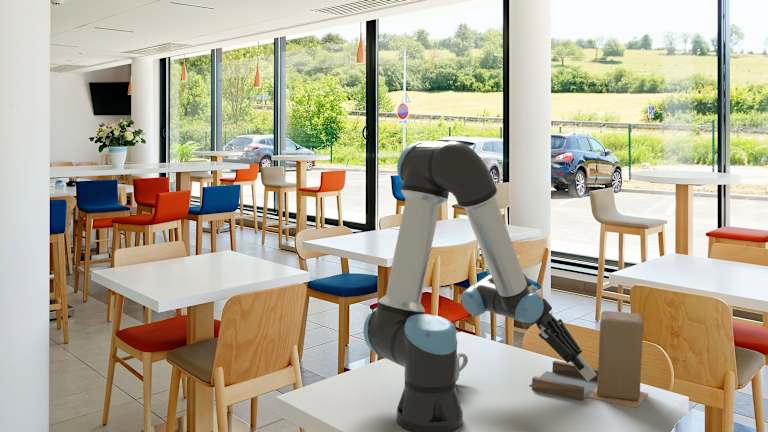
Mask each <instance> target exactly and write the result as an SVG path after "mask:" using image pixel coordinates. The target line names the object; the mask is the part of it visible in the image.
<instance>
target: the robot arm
mask: <svg viewBox="0 0 768 432" xmlns="http://www.w3.org/2000/svg"><path fill="white" fill-rule="evenodd" d="M396 172H397V175H398V176H399V178H398V179H399V181H400V182H401V183H402V184H401V189H400V192H401V193H402V196H404V200H405V201H404V206H403V210H402V215H401V221H400V225H399V229H398V235H397V239H396V240H397V241H396V244H395V249H394V254H393V258H392V259H393V260H392V263H391V269H390V273H389V276H388V277H389V279H388V281H387V282H388V284H387V288H386V292H385V295H384V296H382V297H381V298H379V299H378V301H377V306H376V308H374V309H373V310H372V311H371V313H368V315H367V316H366V317H365V320H364V324H363V339H364V341H365V343H366V345H367V346H368V348H369V349H370V350H371V351H372V352H373V353H375V354H376V355H377V356H379V357H381V358H382V359H386V360H388V361H391V363H395V364H397V365H399V366H401V367H403V368H404V388H403V389H402V390H403V391H402V393H401V395H400V399H399V401H398V404H397V408H396V422H397V424H398V425H400V426H401V427H402V428H404V429H405V430H407V431H409V432H453V431H455V430H457V429H459V428H460V427H461V426H462V425H463V423H464V421H463V420H464V417H463V416H464V415H463V409H462V405H461V403H460V398H459V395H458V392H457V388H456V386H457V382H456V359H457V354H458V351H457V350H458V338H457V329H456V326H455V324H454V323H453V322H451V321H450V320H449V319H446V318H445V317H442V316H440V315H433V314H430V313H429V314H428V313H425V312H426V310H425V308H424V306H423V305H422V302H421V299H422V295H423V291H424V290H423V289H424V285H425V280H426V275H427V271H428V266H429V261H430V256H431V251H432V247H433V241H434V237H435V232H436V228H437V222H438V217H439V212H440V207H441V206H442V205H443V204H445V203H446V202H448V200H449V195H450V193H451V194H452V196H453V197H454V198H455V200H456V201H457V205H458V207H460V208H463V209H464V210H465V213H466V216H467V219H468V221H469V223H470V227H471V228H472V231H473V233H474V235H475V239H476V241H477V244H478V246H479V248H480V251H481V254H482V256H483V258H484V261H485V264H486V266H487V268H486V273H487V275H486V276H484V277H483V278H482V279H479V280H478V281H476V282H475V283H473V284H472V285H470V286H469V287H468V288H466V289H465V290H464V291H463V292H462V294H461V295H460V296H461V297H460V299H461V300H460V301H461V302H462V306H463V307H464V309H465V311H466V312H467V313H469V314H470V315H471V316H474V317H478V316H481V315H484V314H485V312H490V313H492V314H497V315H500V316H504V317H506V318H509V319H512V320H515V321H518V322H522V323H527V324H529V325H530V326H533V325H536V327H537V328H538V330H539V331H540V333H538V336H539V338H541V339H542V340H544V341H545V342H546V344H548V345H549V346H550V347H551V348H552V349H553V350H554V352H555V353H557V354H558V355H559V356H560V357H561V359H563V360H564V362H565V363H570V362H571V364H573V365H574V366H575V367H576V368H577V369H578V371H579V372H580V373H581V374H582V376H583V377H584V378H585V379H586V380H587V382H588V381H589V380H591V379H592V378H593V377H595V376H596V375H597V374H596V373H595V371H594V370H593V369H592V368H593V367H592V366H591V365H590V364H589V363H588V362H587V360H585V358H584V357H583V355H581V353H582V352H583V350H582V349H581V348H580V346H579V345H578V343H577V341H576V340H575V339H574V337H573V336H572V334H571V332H569V330H568V328H567V327H566V326H565V324H564V323H565V322H564V321H563V320H562V319H561V318H559V319H558V320H557V319H556V318H555V317H554V315H552V314H551V313H550V312H551V311H552V310H553V307H552V305H551V304H550V303H549V302H548V301H547V299H545V298H542V297H543V295H542V294H541V293H540V291H538V287H537V286H535V285H533V283H532V282H531V281H530V279H529V278H528V277H527V276H526V274H525V273H524V271H523V269H522V267H521V264H520V262H519V261H520V260H519V258H518V256H517V253H516V250H515V247H514V245H513V242H512V239H511V237H510V234H509V231H508V229H507V228H508V227H507V226H506V223H505V221H504V218H503V215H502V212H501V210H500V207H499V205H498V201H497V199H496V196H497V194H498V189H497V187H496V183H495V181H494V179H493V176H492V174H491V172H490V170H489V168H488V167H487V165H486V163H485V162H484V161H483V159H482V158H481V156H480V155H479V154H478V153H477V152H476V151H475V150H474V149H473V148H471V147H470V146H469V145H467V144H464V143H463V142H460V141H437V140H436V141H434V140H433V141H432V140H425V141H423V140H422V141H418V142H417V141H416V142H414V143H411V144H410V145H408V146H406V147H405V148H404V149H403V151H402V152H401V154H400V155H399V157H398V160H397V166H396Z"/></svg>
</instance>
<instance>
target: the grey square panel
mask: <svg viewBox="0 0 768 432" xmlns="http://www.w3.org/2000/svg"><path fill="white" fill-rule="evenodd" d="M538 377H539V378H543V379H548V380H553V381H558V382H562V383H567V384H572V385H577V386H582V387H584V399H587V398H589V397H588V396H589V395H590V394H591V392H592V391H593V390H594V389H595V388H596V387H597V383H598V381H593V380H589V381H588V382H587V380H586V379H583V378H578V377H573V376H568V375H563V374H558V373H553V372H552V371H548V370H545V372H544V373H542V375H540V376H538ZM528 387H532V382H531V383H530V384H529V385H528Z"/></svg>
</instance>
